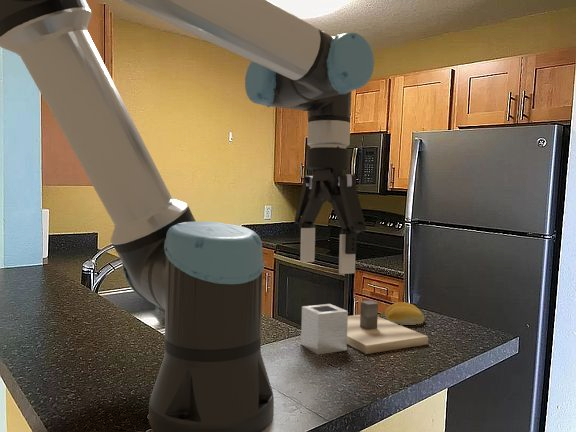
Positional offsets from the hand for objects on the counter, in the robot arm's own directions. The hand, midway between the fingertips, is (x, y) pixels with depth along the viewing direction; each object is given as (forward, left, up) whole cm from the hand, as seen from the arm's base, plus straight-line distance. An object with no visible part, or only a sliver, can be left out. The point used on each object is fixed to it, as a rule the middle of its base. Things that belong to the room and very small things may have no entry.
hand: (325, 267), depth 85 cm
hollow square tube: (0, 0, -14) cm, 14 cm away
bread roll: (+9, -26, -15) cm, 31 cm away
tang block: (+3, -12, -14) cm, 19 cm away
